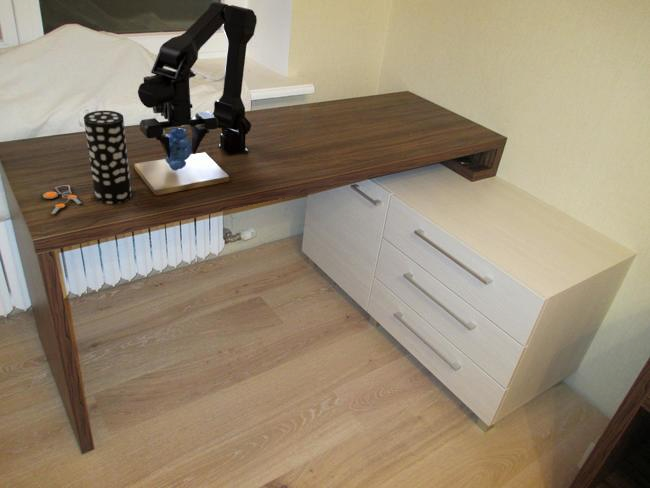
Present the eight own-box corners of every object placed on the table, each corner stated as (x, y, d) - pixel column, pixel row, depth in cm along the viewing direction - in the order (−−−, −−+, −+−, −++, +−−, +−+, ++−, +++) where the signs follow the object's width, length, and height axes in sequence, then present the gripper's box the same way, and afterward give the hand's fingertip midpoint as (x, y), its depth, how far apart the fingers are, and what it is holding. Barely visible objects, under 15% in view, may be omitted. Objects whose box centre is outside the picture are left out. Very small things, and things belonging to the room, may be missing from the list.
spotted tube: (100, 186, 136) (89, 109, 125) (134, 188, 137) (127, 111, 126) (91, 203, 129) (78, 123, 118) (127, 204, 130) (118, 125, 119)
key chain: (41, 190, 131) (40, 187, 131) (73, 185, 135) (73, 182, 134) (49, 215, 122) (49, 212, 122) (84, 209, 126) (83, 206, 125)
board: (204, 157, 156) (204, 152, 155) (229, 181, 145) (229, 176, 144) (134, 168, 145) (134, 163, 145) (155, 195, 135) (155, 190, 134)
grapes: (198, 179, 142) (206, 136, 137) (173, 179, 138) (180, 135, 133) (180, 160, 150) (187, 119, 144) (156, 160, 146) (162, 117, 140)
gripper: (200, 83, 144) (202, 138, 152) (129, 90, 134) (135, 148, 143) (218, 97, 136) (219, 154, 145) (144, 105, 127) (150, 166, 135)
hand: (181, 155), depth 142 cm, fingers closed on grapes, 6 cm apart
